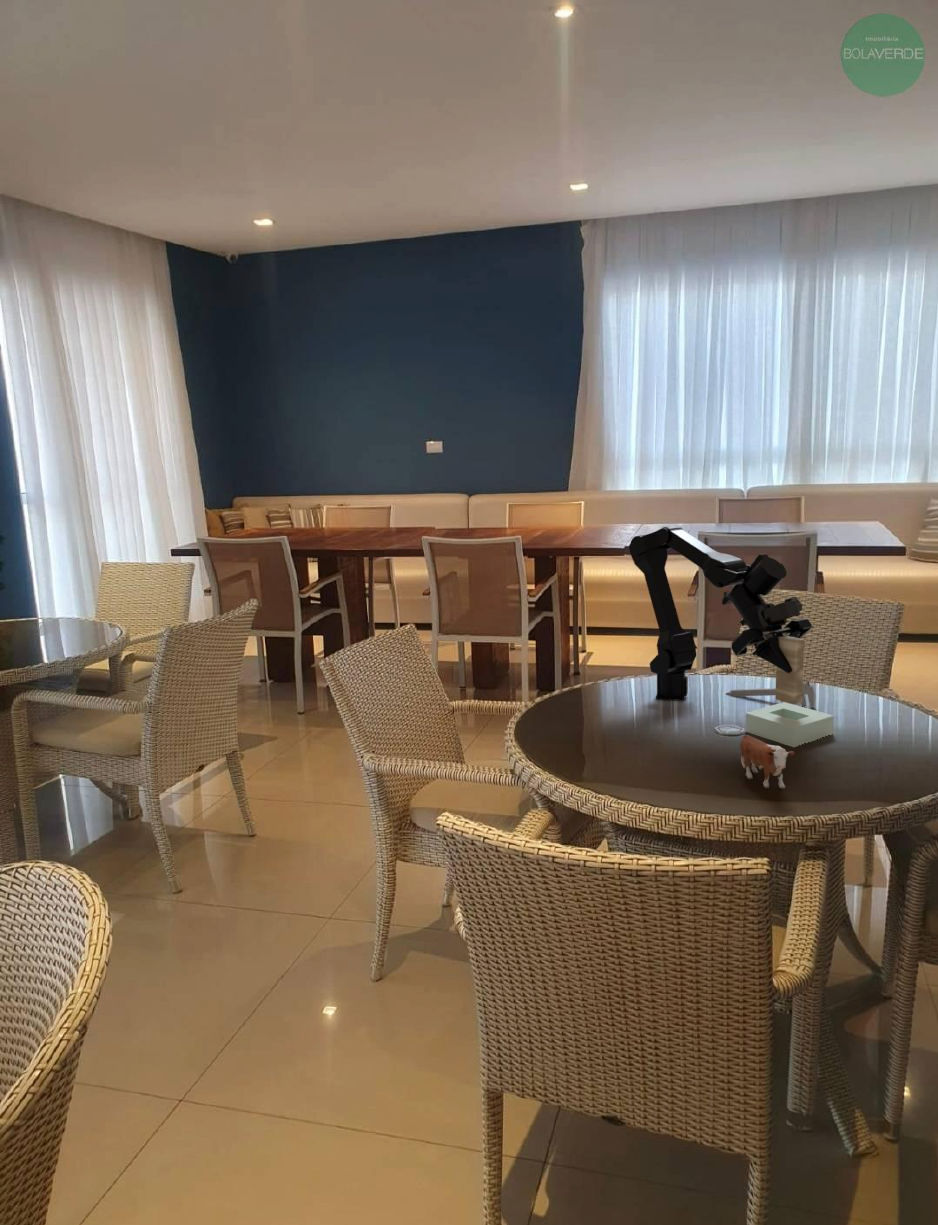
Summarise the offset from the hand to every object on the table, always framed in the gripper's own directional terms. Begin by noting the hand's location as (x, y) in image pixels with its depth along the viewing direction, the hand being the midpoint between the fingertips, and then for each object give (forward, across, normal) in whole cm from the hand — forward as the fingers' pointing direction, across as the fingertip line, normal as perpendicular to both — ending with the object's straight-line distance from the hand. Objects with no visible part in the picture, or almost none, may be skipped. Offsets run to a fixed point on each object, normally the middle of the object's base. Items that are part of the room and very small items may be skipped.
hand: (795, 670), depth 174 cm
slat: (+4, 0, +6) cm, 7 cm away
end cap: (+9, 0, +10) cm, 14 cm away
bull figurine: (+19, -24, 0) cm, 31 cm away
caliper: (-3, +15, +23) cm, 28 cm away
